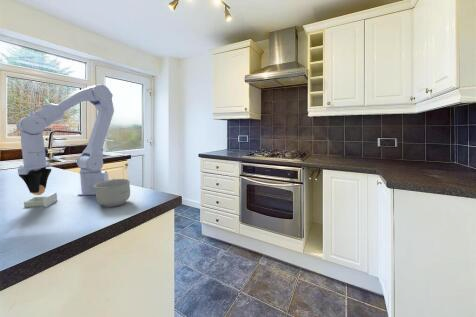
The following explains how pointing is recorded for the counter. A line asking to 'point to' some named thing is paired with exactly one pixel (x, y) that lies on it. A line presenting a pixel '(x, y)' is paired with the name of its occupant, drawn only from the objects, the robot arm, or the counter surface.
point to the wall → (50, 199)
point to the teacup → (112, 192)
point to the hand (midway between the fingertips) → (38, 190)
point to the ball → (40, 190)
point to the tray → (34, 202)
